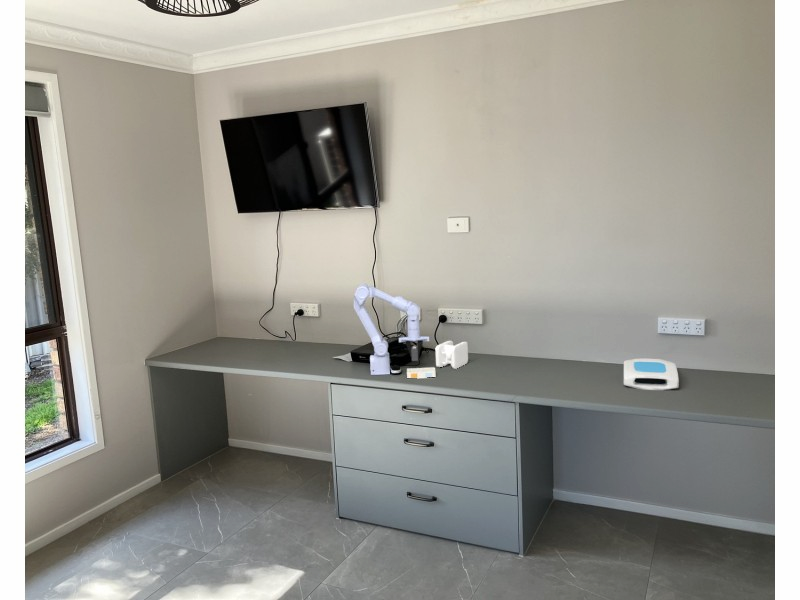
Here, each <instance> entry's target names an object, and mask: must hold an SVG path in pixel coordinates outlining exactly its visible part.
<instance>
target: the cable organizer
mask: <svg viewBox="0 0 800 600" xmlns="http://www.w3.org/2000/svg"><path fill="white" fill-rule="evenodd" d="M468 345H469V343H468V341H462V342H459V343H458V344H457V343H456V344H455V345H454V342H453V341H452V340H447V341H444V342H441V343H440V344H437V345H436V346H435V348H434V349H435V350H434V351H435V366H436V367H437V368H440V367H442V368H444V367H445V366H447V365H449V364H450V366H451V367H452V369H454V370H458V369H460V368H461V367H464V366H465V364H466V365H467V364H468V362H469V348H468V347H469V346H468ZM463 365H464V366H463ZM443 366H444V367H443ZM459 367H460V368H459ZM457 368H458V369H457Z"/></svg>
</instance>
